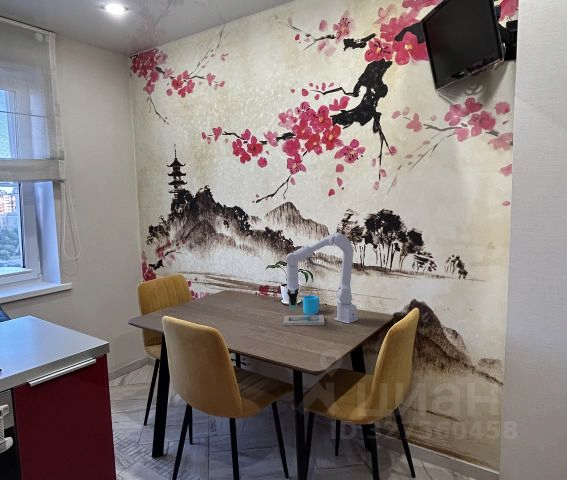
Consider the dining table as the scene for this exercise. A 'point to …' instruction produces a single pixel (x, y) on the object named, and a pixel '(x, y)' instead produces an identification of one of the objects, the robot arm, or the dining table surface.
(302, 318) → the panel
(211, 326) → the dining table surface
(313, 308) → the mug
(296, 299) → the plug
